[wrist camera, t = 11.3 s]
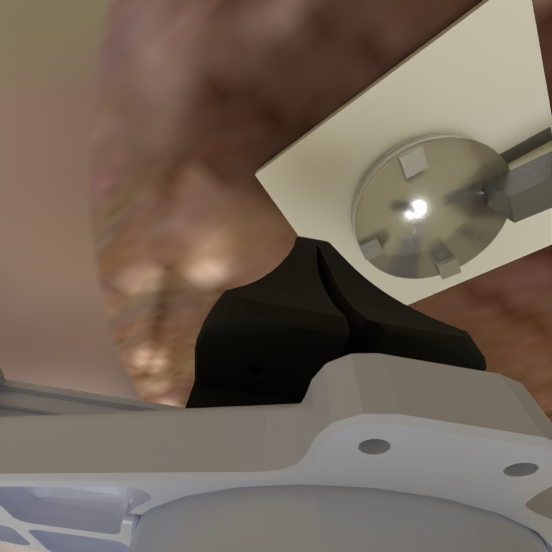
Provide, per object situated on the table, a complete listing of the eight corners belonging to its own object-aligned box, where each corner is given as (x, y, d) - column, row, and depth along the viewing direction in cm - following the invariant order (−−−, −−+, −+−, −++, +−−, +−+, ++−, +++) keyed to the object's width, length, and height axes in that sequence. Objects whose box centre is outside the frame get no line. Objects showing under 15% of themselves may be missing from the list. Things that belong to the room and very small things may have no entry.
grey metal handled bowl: (378, 281, 22) (394, 320, 19) (329, 183, 18) (337, 207, 15) (669, 162, 16) (782, 184, 13) (690, -21, 12) (863, -70, 9)
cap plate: (556, 227, 21) (573, 236, 20) (358, 313, 27) (361, 325, 25) (506, -18, 14) (528, -29, 13) (257, 169, 20) (254, 175, 19)
